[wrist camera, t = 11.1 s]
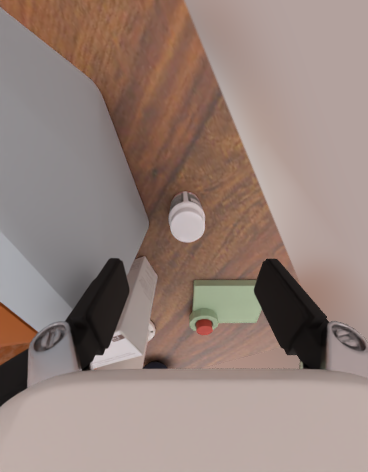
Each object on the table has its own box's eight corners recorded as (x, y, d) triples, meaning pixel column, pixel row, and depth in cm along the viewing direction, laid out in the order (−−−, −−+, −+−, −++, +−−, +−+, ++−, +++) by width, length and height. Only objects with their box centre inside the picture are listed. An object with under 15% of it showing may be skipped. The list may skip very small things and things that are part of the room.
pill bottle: (172, 219, 26) (168, 247, 18) (169, 191, 23) (163, 210, 16) (200, 218, 26) (207, 244, 18) (200, 189, 23) (208, 206, 16)
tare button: (195, 327, 36) (196, 335, 34) (196, 318, 34) (197, 326, 33) (210, 327, 36) (211, 335, 34) (212, 318, 34) (213, 325, 33)
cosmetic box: (125, 285, 33) (90, 371, 20) (109, 266, 30) (55, 351, 17) (160, 274, 32) (145, 359, 19) (146, 253, 29) (117, 335, 16)
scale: (188, 318, 39) (189, 332, 36) (190, 279, 33) (191, 293, 30) (252, 318, 39) (258, 332, 36) (267, 279, 33) (276, 292, 30)
